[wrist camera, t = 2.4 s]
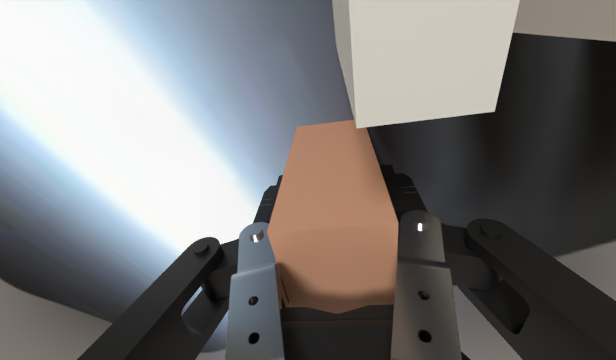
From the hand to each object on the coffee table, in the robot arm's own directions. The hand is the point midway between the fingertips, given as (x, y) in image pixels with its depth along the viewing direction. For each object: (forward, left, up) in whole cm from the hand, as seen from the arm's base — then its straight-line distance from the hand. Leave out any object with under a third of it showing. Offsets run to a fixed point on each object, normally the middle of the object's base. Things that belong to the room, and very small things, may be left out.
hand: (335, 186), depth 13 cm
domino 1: (0, 0, -2) cm, 2 cm away
